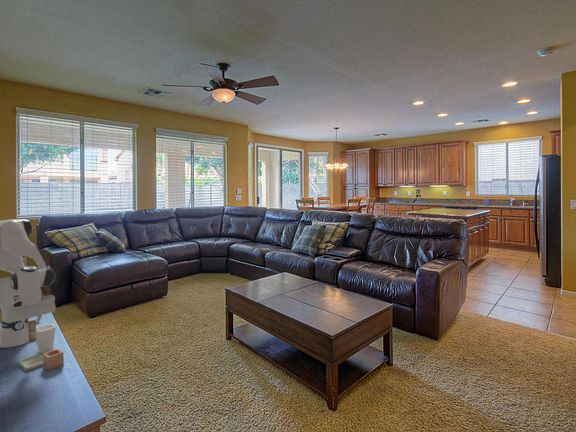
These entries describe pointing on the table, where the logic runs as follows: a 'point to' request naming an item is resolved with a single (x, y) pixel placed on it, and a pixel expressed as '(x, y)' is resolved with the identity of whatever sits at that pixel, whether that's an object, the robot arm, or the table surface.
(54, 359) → the brown hollow block
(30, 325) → the dowel
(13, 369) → the table surface
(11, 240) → the robot arm
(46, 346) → the foam cup
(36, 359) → the tray
